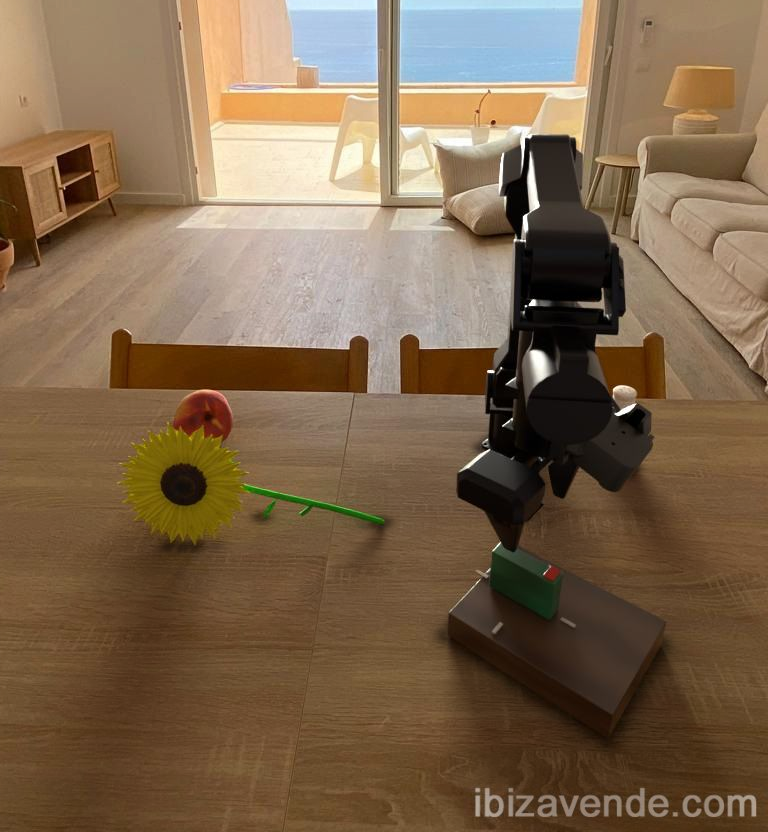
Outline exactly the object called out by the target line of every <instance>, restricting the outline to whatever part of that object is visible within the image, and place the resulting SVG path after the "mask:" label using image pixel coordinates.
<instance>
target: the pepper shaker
mask: <svg viewBox="0 0 768 832" xmlns="http://www.w3.org/2000/svg"><path fill="white" fill-rule="evenodd" d="M637 396H638V392H637V390H636V389H634V388H633V387H631V386H628V385H617V386H615V387H614V388H613V389H612V398H613V399H614V401H615V402H616V403H617V405H618V406H619V408H620V411H621V410H622V409H624V408H627V407H629V406H631V405H634V404H636V401H637V399H636V398H637Z"/></svg>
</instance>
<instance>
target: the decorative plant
mask: <svg viewBox="0 0 768 832" xmlns="http://www.w3.org/2000/svg"><path fill="white" fill-rule="evenodd" d="M147 433H148V437H149V440H150V441H149V440H146V439H144V438H141V440H142V442H143V444H140V443H134V442H130V444H131V445H132V447H133V448H134V450H135V451H136V453H137V454H138V455H132V456H131V455H127V458H128V459H130V460H129V461H127V462H119V465H120V466H122V467H124V468H126V469H127V470H128V471H127V472H122V473H121V475H124V476H126V478H125V479H124V480H122V481H119V482H117V484H118V485H121V486H125V487H129V488H127V489H126V490H124V491H122V493H123V494H129V495H128V496H127V498H126V499H125V500H123V501H122V503H121V504H134V506H133V507H132V509H130V512H134V511H137V515H136V517H135V519H134V520H133V522H137V521H139V520H143V519H145V520H144V523H143V525H142V526H147V525H149V524H151V525H150V526H151V532H150V535H152V534H154V533H155V532H156V531H158V530H159V531H160V535H159V537H162V536H163V535H164V534H165V533H166V532H167V534H168V536H169V544H172V542H173V541H174V540H175V539H176V537H178V535H179V536H180V539H181V541H182V542H184V541H185V538H186V537H187V535H188V536H189V538H190V540H191V541H192V543H193V545H194V546H196V543H197V539H198V538H199V537H200V538H201V540H204V533H205V531H206V533H208V534H209V535H210V536H211V537H212V538H213V539H216V530H217V531H218V532H219V533H221V529H220V523H221V524H223V525H225V526H227V527H228V528H231V529H232V528H233V526H232V524H231V522H230V519H232V520H236V518H235V517H234V515H233V513H232V511H237V512H245V510H244V509H243V507H242V506H241V505H240V504H239V503H241V504H243V503H244V501H242V500H241V498H239V497H238V495H244V494H250V493H251V494H255V495H259V496H263V497H267V498H271V499H274V500H272V501H271V502H270V503H269V504H268V505H267V507H266V508H265V510H264V513H263V514H262V515H261V518H266V517H267V516H268V515H270V513H271V512H272V510H273V509H274V507H275V506H276V503H277V501H278V500H280V501H284V502H290V503H294V504H297V505H298V504H299V505H304V506H307V507H305V508H304V509H303V510H302V511H300V512H299V513H298V515H300V516H301V517H305V515H307V514H308V513H309V512H310V511H311V510H312V509H313V508H316V509H321V510H326V511H329V512H334V513H337V514H341V515H344V516H348V517H352V518H356V519H360V520H364V521H366V522H370V523H375V524H377V525H384V524H385V519H383V518H381V517H378V516H375V515H372V514H370V513H369V514H368V513H365V512H361V511H357V510H354V509H349V508H347V507H346V508H345V507H344V506H343V507H342V506H338V505H335V504H331V503H327V502H323V501H319V500H313V499H310V498H304V497H301V496H295V495H291V494H286V493H281V492H277V491H273V490H269V489H265V488H262V487H257V486H253V485H249V484H246V483H244V481H243V480H242V477H244V476H246V475H248V474H249V473H250V472H249V471H245V470H242V469H240V468H238V466H239V465H240V464H241V462H235V461H234V458H235V457H236V455H237V454H238V452H239V450H238V449H237V450H228V449H229V447H230V446H226V447H220V446H221V444H222V443H221V440H222V437H223V435H222V436H220V437H218V438H215V439H212V437H213V434H212V435H211V436H209V437H207V438H205V439H204V426H203V425H202V427H201V428H200V429H198V430H197V431H195V432H193V433H192V434H191V436H190V437H188V435H187V434H185V432H184V431H183V430H182V428H181V426H180V428H179V431H177V430H175V429H174V428H173V426H172V425H170V423H169V421H168V422H166V433H165V432H163V431H162V430H161V429H160V430H159V434H157V433H154V432H152V431H150V430H149V429H147Z"/></svg>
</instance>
